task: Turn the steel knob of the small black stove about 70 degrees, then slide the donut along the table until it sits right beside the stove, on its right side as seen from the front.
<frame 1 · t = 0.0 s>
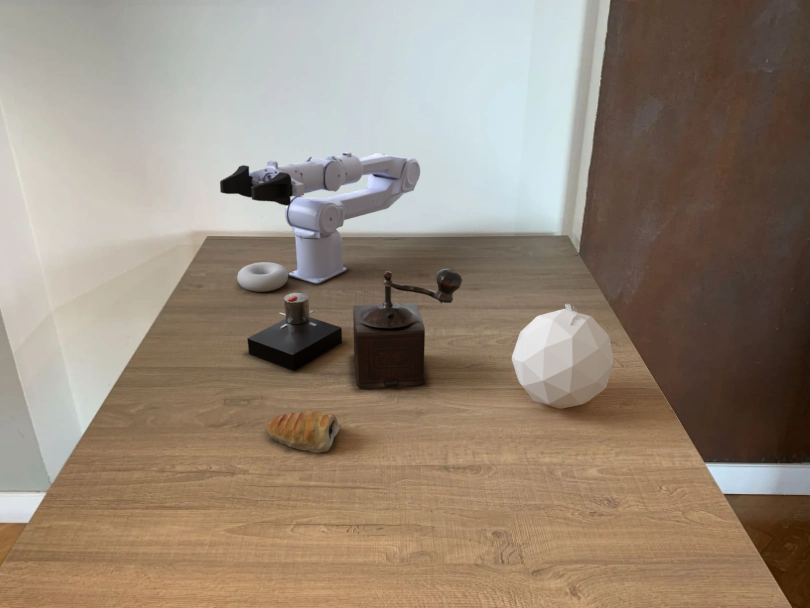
hand: (237, 190, 128), 22 cm above the table, tool horizontal, fingers open, 7 cm apart
stove knob: (296, 307, 125), point 5 cm above the table, hinge at 0.0°
geodesic sphere: (557, 400, 108), on the table
manual coffee grinder: (404, 372, 116), on the table
stove: (296, 348, 123), on the table
donut: (263, 285, 148), on the table
pastry: (306, 440, 100), on the table
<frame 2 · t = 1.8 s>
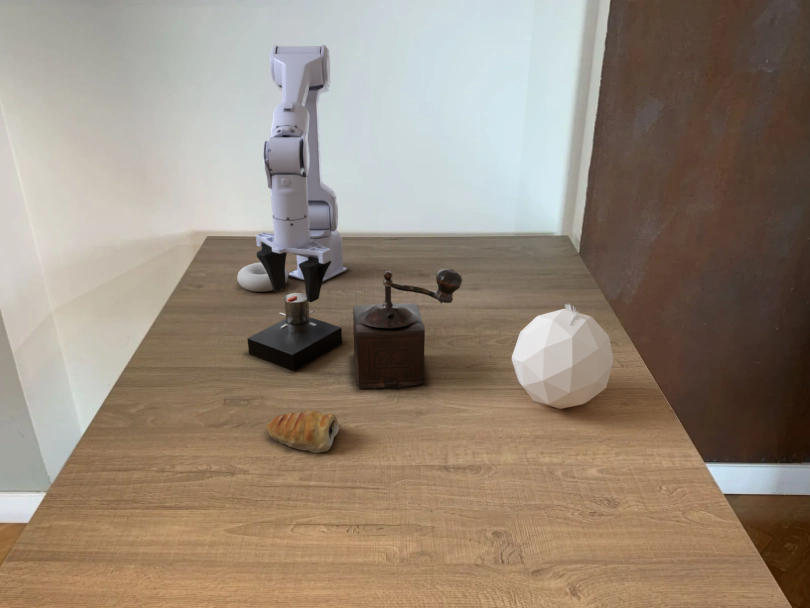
hand: (296, 294, 124), 8 cm above the table, tool pointing down, fingers open, 7 cm apart
nothing on the table moved.
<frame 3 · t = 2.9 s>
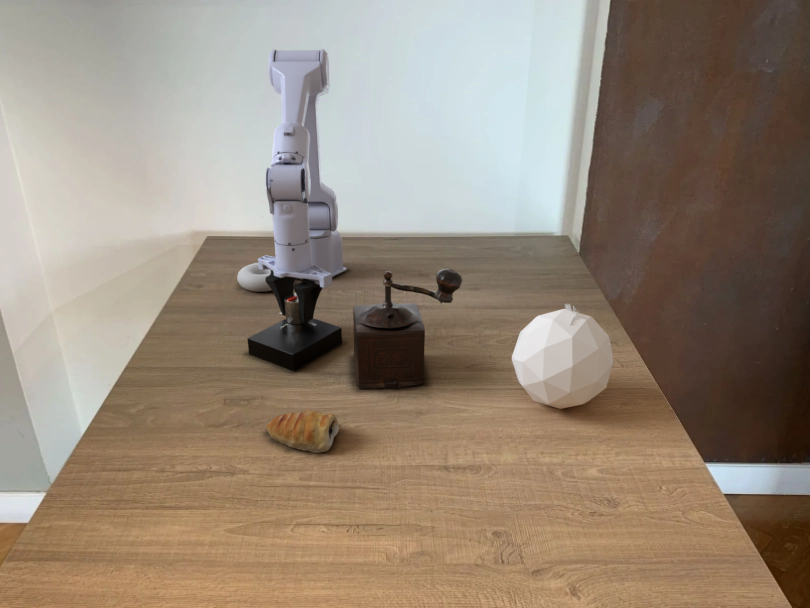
hand: (297, 316, 126), 3 cm above the table, tool pointing down, fingers closed on stove knob, 4 cm apart
stove knob: (296, 307, 125), point 5 cm above the table, hinge at -0.2°, touching gripper
everything else where it was.
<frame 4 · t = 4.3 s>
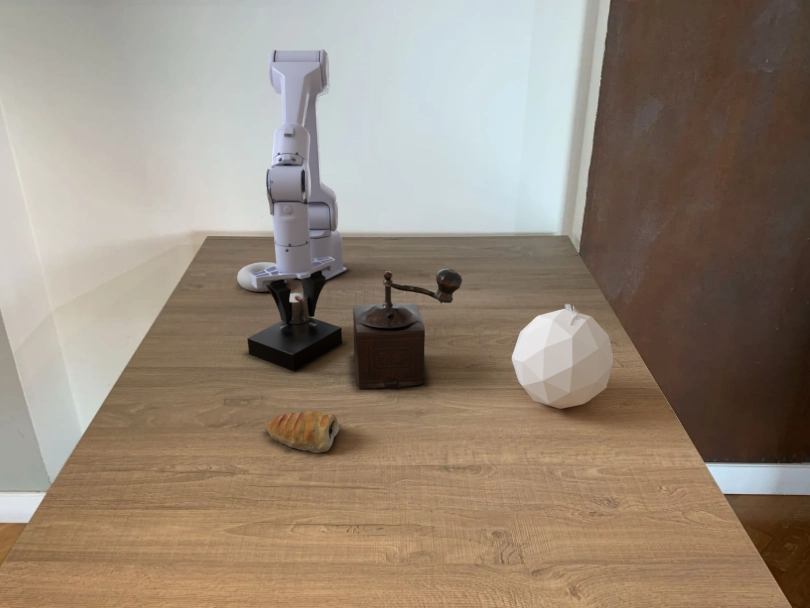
hand: (297, 318, 126), 3 cm above the table, tool pointing down, fingers closed on stove knob, 4 cm apart
stove knob: (296, 307, 125), point 5 cm above the table, hinge at 69.5°, touching gripper
everything else where it was.
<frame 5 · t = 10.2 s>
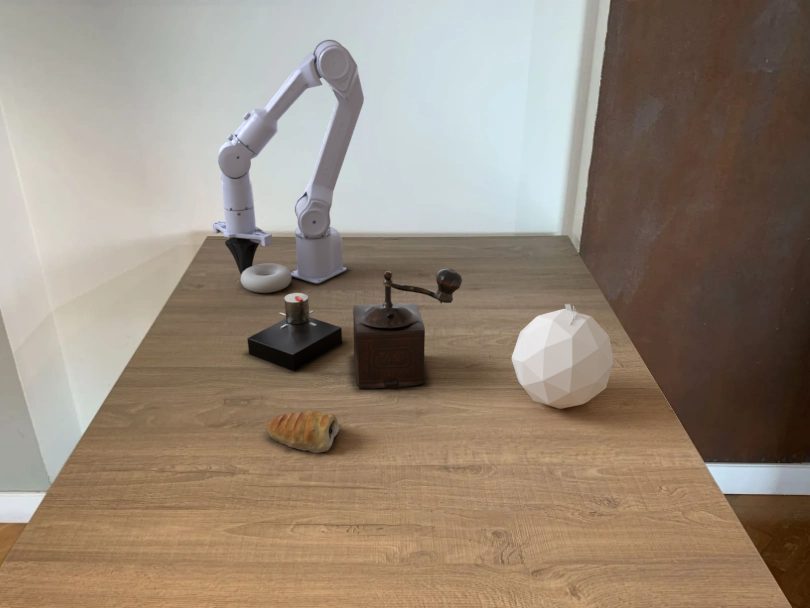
hand: (245, 272, 150), 1 cm above the table, tool pointing down, fingers closed
stove knob: (296, 307, 125), point 5 cm above the table, hinge at 69.9°
donut: (267, 286, 147), on the table, touching gripper
everything else where it was.
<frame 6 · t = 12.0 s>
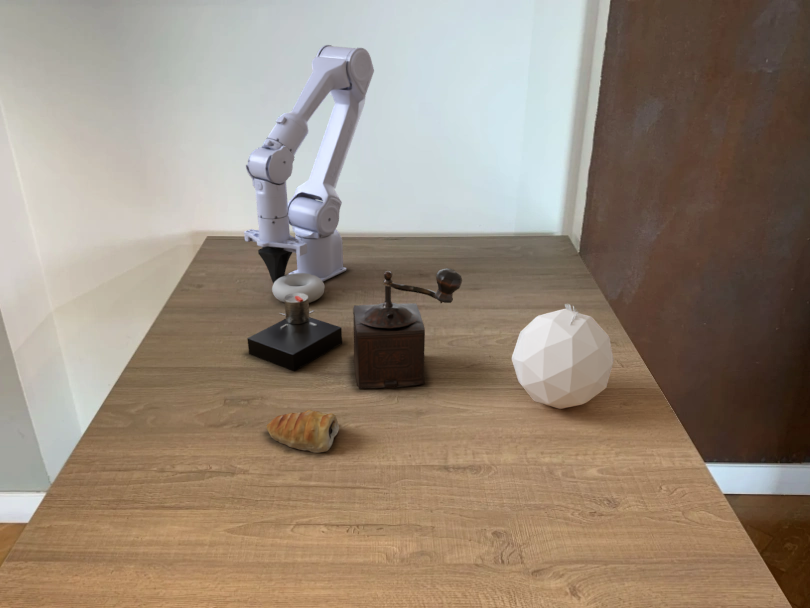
hand: (278, 282, 145), 1 cm above the table, tool pointing down, fingers closed
donut: (299, 297, 142), on the table, touching gripper
everything else where it was.
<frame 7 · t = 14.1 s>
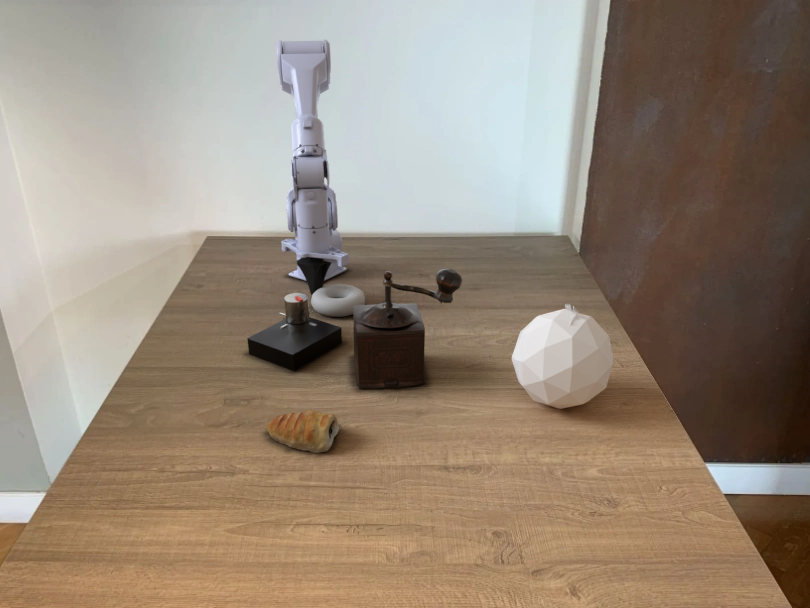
hand: (316, 294, 140), 1 cm above the table, tool pointing down, fingers closed
donut: (338, 309, 137), on the table, touching gripper
everything else where it was.
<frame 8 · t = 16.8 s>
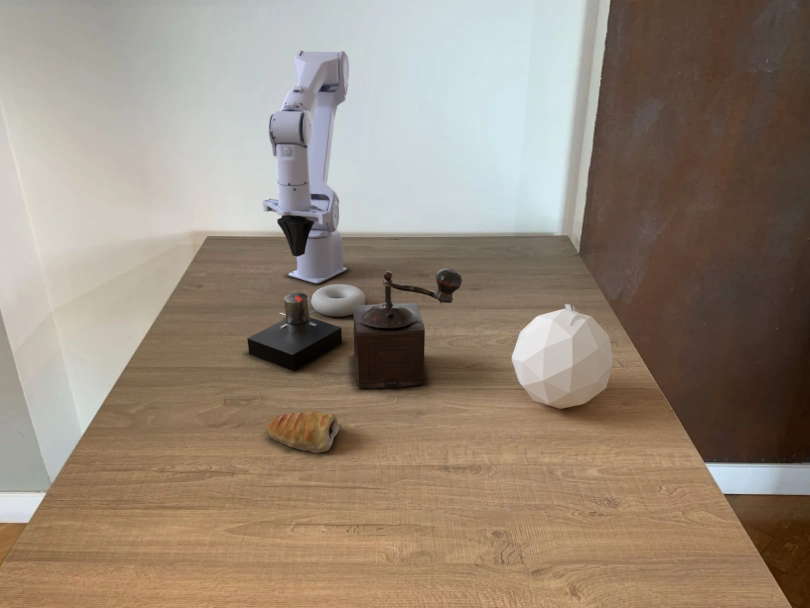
hand: (298, 254, 138), 8 cm above the table, tool pointing down, fingers closed
donut: (338, 309, 137), on the table
everything else where it was.
at the end: stove knob at +70° (first picture: +0°); donut inside the target area on the table beside the stove (1.5 cm from its centre), on the table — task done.
